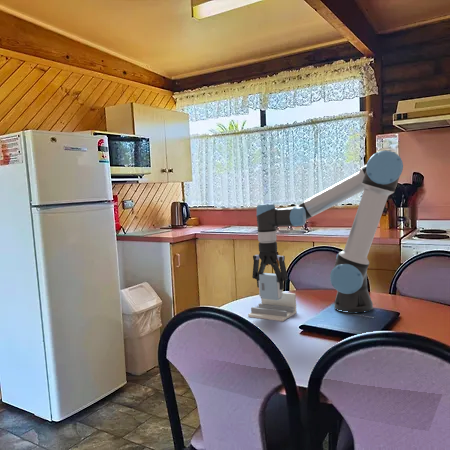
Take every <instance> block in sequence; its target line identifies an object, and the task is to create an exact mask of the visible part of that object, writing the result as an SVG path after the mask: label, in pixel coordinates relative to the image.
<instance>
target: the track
mask: <svg viewBox="0 0 450 450" xmlns="http://www.w3.org/2000/svg"><path fill="white" fill-rule="evenodd" d="M296 295H297V294H296V293H291V292H283V297H282V298H281V299H279V300H271V299H262V298H261V297H260V299H261V301H260V302H261V303H258V307H256V306H255V307H253V306H252V307H251V308H250V311H251V312H249V313H248V315H247V316H248V317H250V318H257V319H262V320H263V319H265V320H270V321H277V322H284V321H286V320H287V319H289V318H291V317H292V316H293V315H295V314H297V312H298V311H297V298H296V297H297V296H296Z"/></svg>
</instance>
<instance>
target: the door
mask: <svg viewBox="0 0 450 450" xmlns="http://www.w3.org/2000/svg"><path fill="white" fill-rule="evenodd" d="M259 281H260V296H259V297H260V299H261V298H262V299H271V300H279V299H281V298H282V297H281V298H278V290H277V282H278V278H277V275H276V274H275V273H273V272H272V273H270V272H269V273H268V272H264V273H262V274H259Z"/></svg>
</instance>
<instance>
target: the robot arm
mask: <svg viewBox="0 0 450 450" xmlns="http://www.w3.org/2000/svg"><path fill="white" fill-rule="evenodd" d="M403 170H404V163H403V160H402V158H401V156H400V155H399V154H398V153H396V152H394V151H391V150H385V149H383V150H379V151H377V152H375V153H373V154H372V155H371V156H370V157H369V159H368V160H367V162H366V164H365V165H363V166H361V167H360V168H359V171H358V172H355V173H354V174H351V175H350V176H348V177H345V178H344V179H343V180H340V181H339V182H337V183H334V184H333V185H331V186H329V187H327V188H326V189H324V190H322V191H320V192H318V193H316V194H314V195H313V196H311V197H308V198H307V199H305V200H303V201H301V202H300V203H297V204H296V205H293V206H289V207H280V208H279V207H276V205H275V204H274V203H260V204H257V206H256V222H257V223H256V225H257V227H256V228H257V240H258V241H257V242H258V252H259V253H258V254H254V255H253V256H252V258H253V260H252V261H253V263H252V264H253V267H252V279H255V280H256V287H257V288H258V295H259V297H260V281H259V274H262V273H265V269H266V266H267V265H270V266H271V267H272V269H273V271H274V274H276V275H277V278H278V282H277V290H278V298H281V297H283V293H284V292H283V290H284V289H285V283H284V282H285V281H287V280H288V279H289V277H288V276H289V275H288V271H287V268H286V263H285V258H286V256H285V255H279V253H278V242H277V239H278V238H277V228H278V227H295V228H296V227H303V226H305V225H306V221H307V220H309V219H311V218H312V217H314V216H317V215H318V214H320V213H322V212H325V211H326V210H328V209H330V208H332V207H334V206H336V205H338V204H340V203H342V202H344V201H346V200H348V199H350V198H353V197H354V196H355V195H358V194H360V193H362V195H361V197H360V201H359V205H358V207H357V210H356V214H355V215H354V220H353V223H352V224H351V228H350V231H349V234H348V237H347V240H346V243H345V246H344V249H343V250H342V251H341V250H340V251H339V252H338V253H337V254H336V256H335V257H336V258H335V262H334V265H333V268H332V270H331V272H330V273H329V274H330V275H329V281H330V284H331V285H332V287H333V288H334V289H335V290H336V296H335V300H334V305H333V306H334V309H335V308H336V309H338V310H342V311H348V312H364V311H369V310H371V309H372V310H374V304H373V300H372V297H371V296H370V293H369V291H368V290H369V289H368V280H367V279H368V275H367V271H368V269H369V265H370V261H369V259H368V255H369V252H370V249H371V247H372V244H373V241H374V238H375V234H376V232H377V230H378V226H379V223H380V220H381V217H382V214H383V212H384V210H385V207H386V203H387V201H388V198H389V196H390V195H392V194H394V193H395V191H396V188H397V186H398V183H399V180H400V177H401V175H402V173H403ZM260 260H261V261H260ZM336 309H335V310H336ZM372 310H371V311H372ZM369 312H370V311H369ZM364 313H365V312H364Z"/></svg>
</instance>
